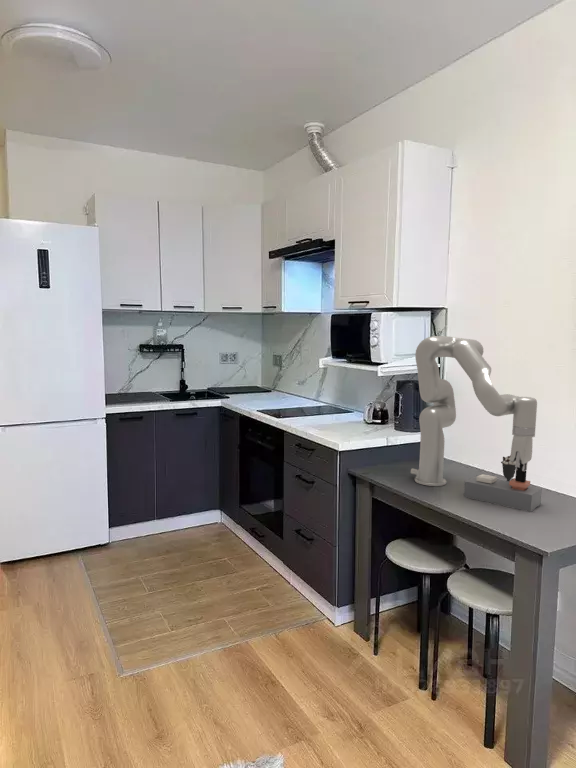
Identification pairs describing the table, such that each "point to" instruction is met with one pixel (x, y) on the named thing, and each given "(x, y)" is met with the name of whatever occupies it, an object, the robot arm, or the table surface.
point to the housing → (503, 494)
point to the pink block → (519, 484)
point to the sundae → (508, 468)
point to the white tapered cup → (486, 478)
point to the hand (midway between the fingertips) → (520, 481)
